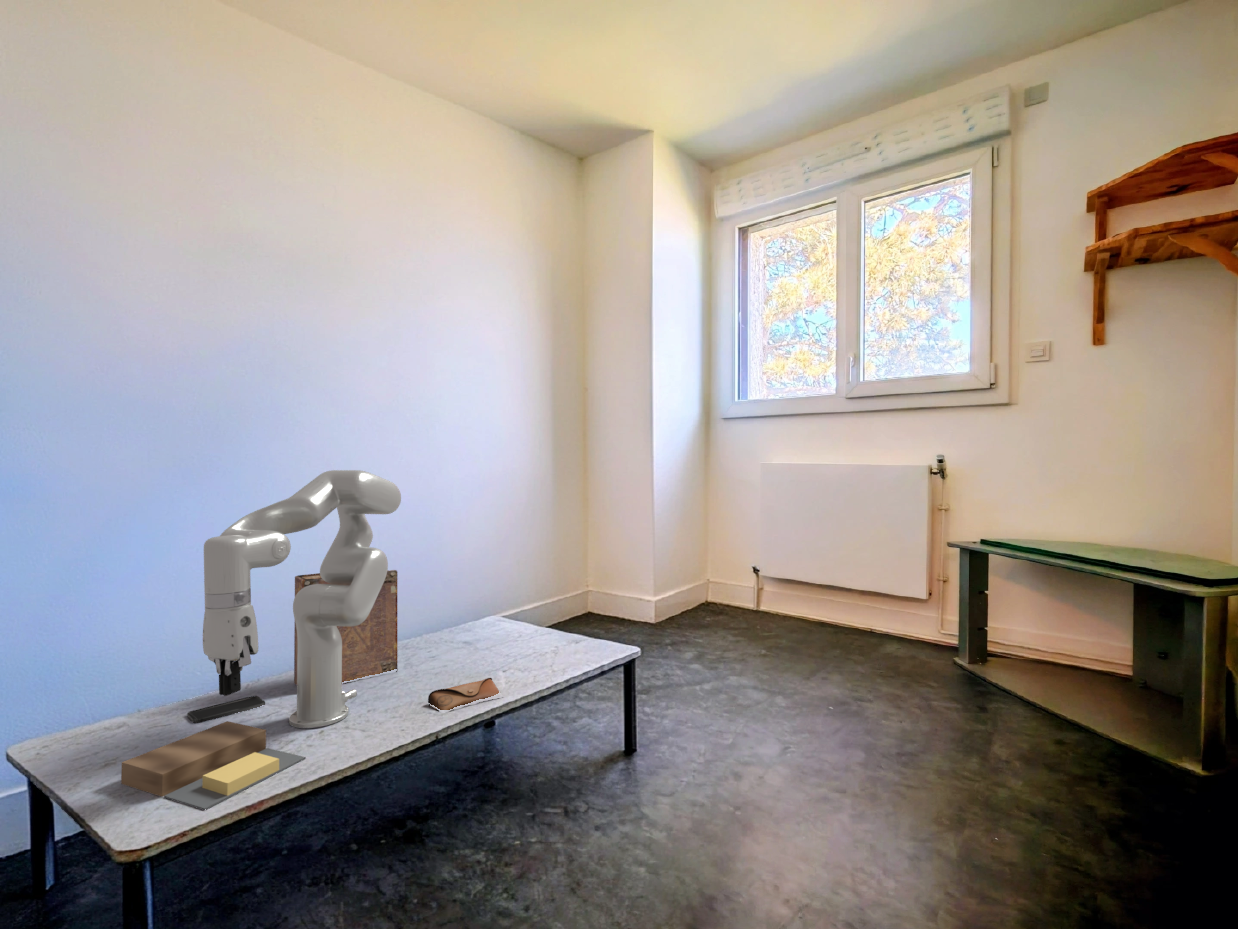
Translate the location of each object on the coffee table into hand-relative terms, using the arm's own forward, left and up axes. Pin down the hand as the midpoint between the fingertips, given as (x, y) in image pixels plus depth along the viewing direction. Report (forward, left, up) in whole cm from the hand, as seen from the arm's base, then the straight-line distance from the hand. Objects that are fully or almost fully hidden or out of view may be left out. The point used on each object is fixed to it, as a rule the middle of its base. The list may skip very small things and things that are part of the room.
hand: (230, 692), depth 115 cm
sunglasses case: (-47, +21, -16) cm, 54 cm away
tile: (+2, +6, -13) cm, 14 cm away
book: (-49, -21, -15) cm, 55 cm away
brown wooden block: (+1, -8, -15) cm, 17 cm away
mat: (+1, +4, -15) cm, 16 cm away
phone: (-20, -30, -16) cm, 39 cm away
